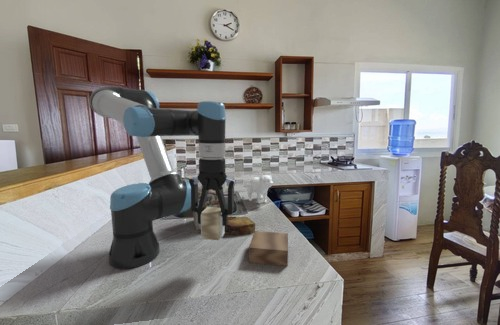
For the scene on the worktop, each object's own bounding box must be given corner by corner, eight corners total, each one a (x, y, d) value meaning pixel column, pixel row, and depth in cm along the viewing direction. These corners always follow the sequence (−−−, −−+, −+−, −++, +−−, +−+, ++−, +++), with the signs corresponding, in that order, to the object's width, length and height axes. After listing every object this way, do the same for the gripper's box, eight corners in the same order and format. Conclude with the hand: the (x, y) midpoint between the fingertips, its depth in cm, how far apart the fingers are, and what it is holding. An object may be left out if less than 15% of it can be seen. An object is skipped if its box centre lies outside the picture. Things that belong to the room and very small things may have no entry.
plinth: (249, 262, 73) (249, 247, 72) (254, 244, 84) (254, 231, 84) (287, 265, 71) (287, 250, 70) (287, 246, 83) (287, 233, 82)
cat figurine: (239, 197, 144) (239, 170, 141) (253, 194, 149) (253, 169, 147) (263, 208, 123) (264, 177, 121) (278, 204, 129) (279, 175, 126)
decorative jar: (218, 217, 110) (217, 180, 108) (223, 226, 100) (223, 186, 97) (192, 220, 107) (191, 182, 104) (195, 230, 96) (193, 188, 93)
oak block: (201, 238, 67) (201, 212, 66) (207, 231, 72) (207, 206, 71) (218, 240, 66) (218, 213, 65) (223, 232, 71) (223, 207, 70)
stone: (250, 224, 102) (250, 213, 102) (255, 233, 93) (255, 221, 93) (216, 228, 99) (216, 216, 98) (218, 237, 90) (218, 225, 89)
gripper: (176, 158, 63) (178, 237, 67) (240, 160, 61) (239, 243, 64) (187, 155, 71) (189, 226, 74) (245, 157, 68) (244, 231, 72)
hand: (212, 234), depth 69 cm, fingers closed on oak block, 5 cm apart
